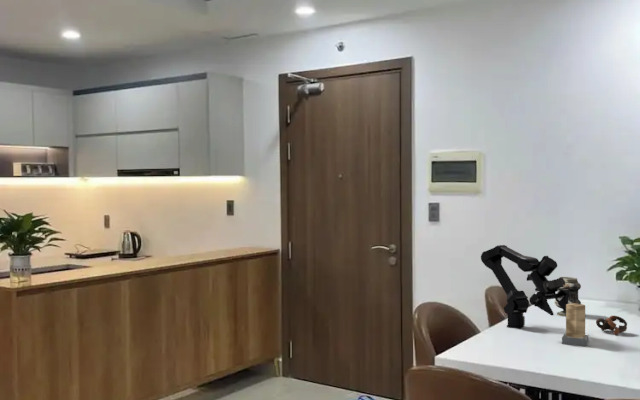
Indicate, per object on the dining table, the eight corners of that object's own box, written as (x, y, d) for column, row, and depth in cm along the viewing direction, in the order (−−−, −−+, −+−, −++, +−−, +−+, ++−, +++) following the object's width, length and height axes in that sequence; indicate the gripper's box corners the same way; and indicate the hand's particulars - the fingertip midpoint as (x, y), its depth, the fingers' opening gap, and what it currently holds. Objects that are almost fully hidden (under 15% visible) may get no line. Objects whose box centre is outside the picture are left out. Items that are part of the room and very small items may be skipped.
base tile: (561, 343, 257) (562, 337, 257) (564, 339, 265) (564, 332, 265) (586, 346, 253) (586, 339, 253) (588, 341, 261) (588, 334, 261)
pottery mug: (619, 331, 282) (627, 316, 277) (623, 345, 273) (631, 330, 269) (591, 323, 283) (598, 308, 279) (594, 337, 275) (601, 322, 271)
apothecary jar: (583, 313, 319) (583, 277, 318) (578, 318, 308) (578, 279, 308) (557, 311, 325) (557, 275, 325) (551, 315, 315) (551, 278, 315)
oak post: (565, 335, 260) (566, 304, 260) (575, 334, 262) (575, 303, 262) (575, 338, 255) (576, 306, 255) (585, 336, 258) (585, 305, 257)
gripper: (534, 272, 266) (555, 304, 256) (568, 270, 274) (589, 300, 264) (520, 288, 273) (539, 320, 263) (553, 285, 281) (573, 316, 272)
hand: (561, 313), depth 265 cm, fingers open, 9 cm apart
